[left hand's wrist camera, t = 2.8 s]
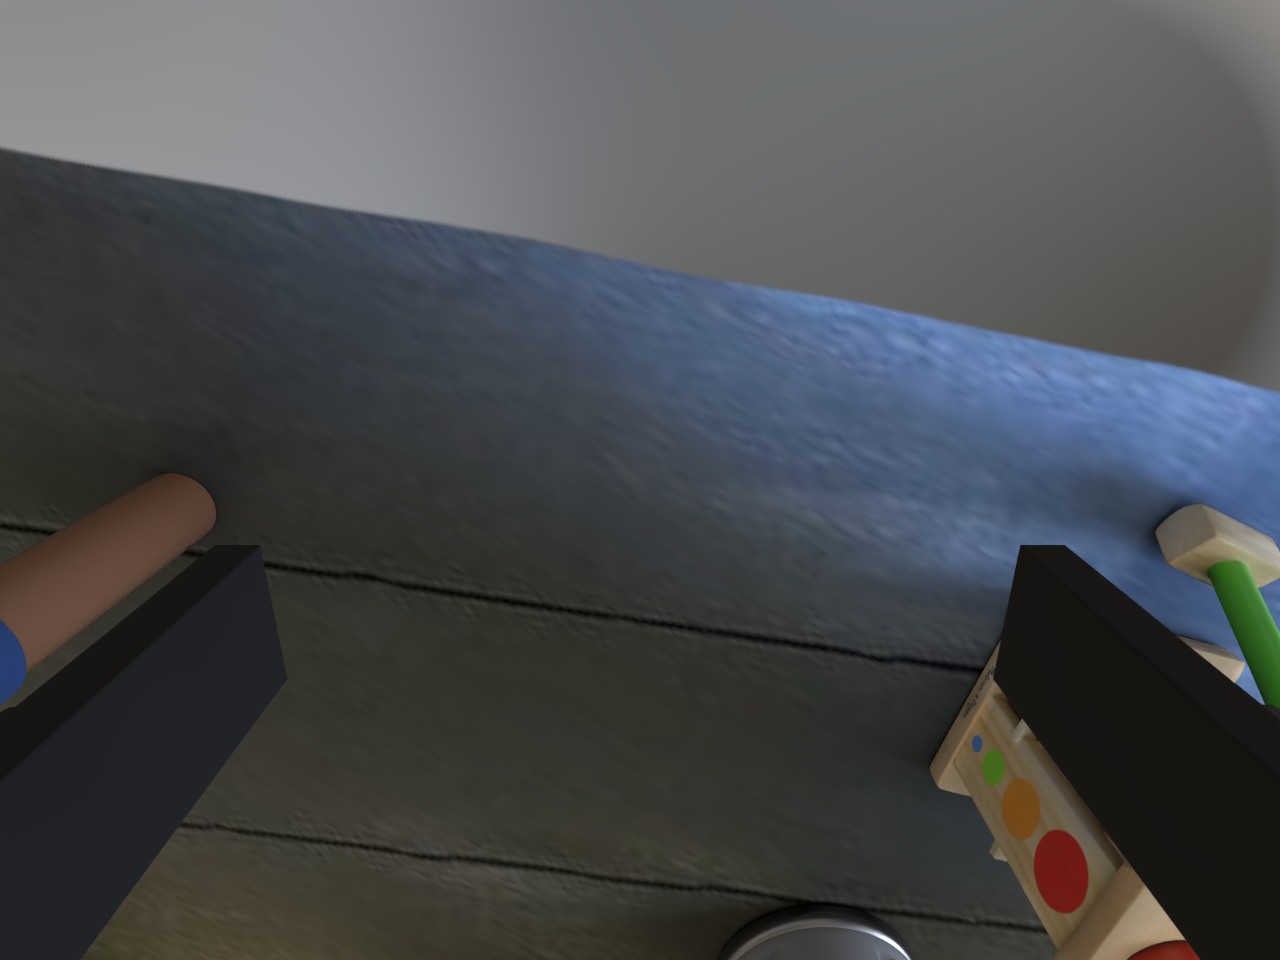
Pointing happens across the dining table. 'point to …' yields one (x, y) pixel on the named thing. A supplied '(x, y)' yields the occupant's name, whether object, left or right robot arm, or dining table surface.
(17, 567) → the jar
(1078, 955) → the pounding bench toy
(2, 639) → the lid
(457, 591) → the dining table surface
